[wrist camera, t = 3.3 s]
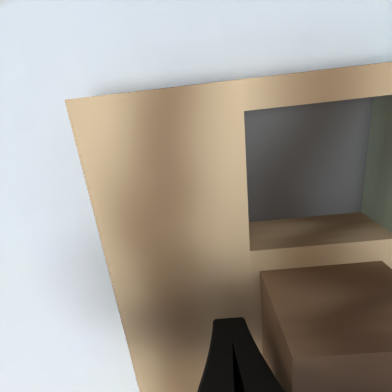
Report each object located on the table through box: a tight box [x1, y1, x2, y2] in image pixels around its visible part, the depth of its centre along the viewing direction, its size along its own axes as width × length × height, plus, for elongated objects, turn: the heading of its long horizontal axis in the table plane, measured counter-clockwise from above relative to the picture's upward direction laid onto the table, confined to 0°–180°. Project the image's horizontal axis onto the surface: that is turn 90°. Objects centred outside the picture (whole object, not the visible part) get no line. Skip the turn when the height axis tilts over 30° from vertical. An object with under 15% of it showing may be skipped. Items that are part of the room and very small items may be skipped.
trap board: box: [65, 62, 392, 392], centre depth 13 cm, size 18×20×3 cm
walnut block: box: [260, 261, 392, 392], centre depth 10 cm, size 5×5×4 cm
